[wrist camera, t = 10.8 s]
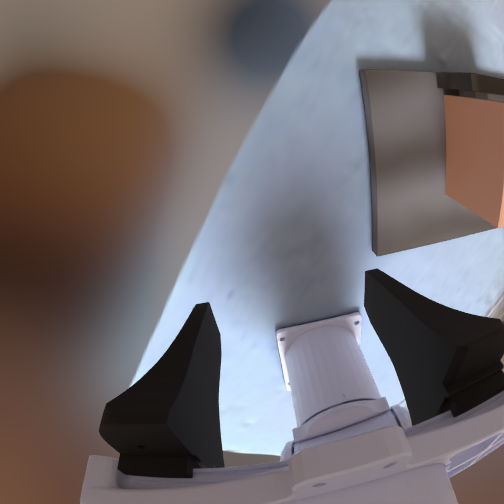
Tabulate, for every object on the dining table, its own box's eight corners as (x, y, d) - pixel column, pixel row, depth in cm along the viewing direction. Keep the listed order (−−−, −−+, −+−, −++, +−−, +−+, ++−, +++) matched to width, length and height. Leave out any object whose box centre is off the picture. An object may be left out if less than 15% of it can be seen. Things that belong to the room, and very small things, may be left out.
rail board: (511, 218, 23) (541, 239, 18) (372, 250, 23) (399, 284, 19) (515, 86, 16) (553, 93, 12) (359, 70, 17) (394, 65, 12)
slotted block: (484, 189, 20) (534, 218, 14) (445, 194, 20) (497, 228, 14) (485, 99, 16) (543, 111, 11) (443, 94, 16) (505, 103, 11)
